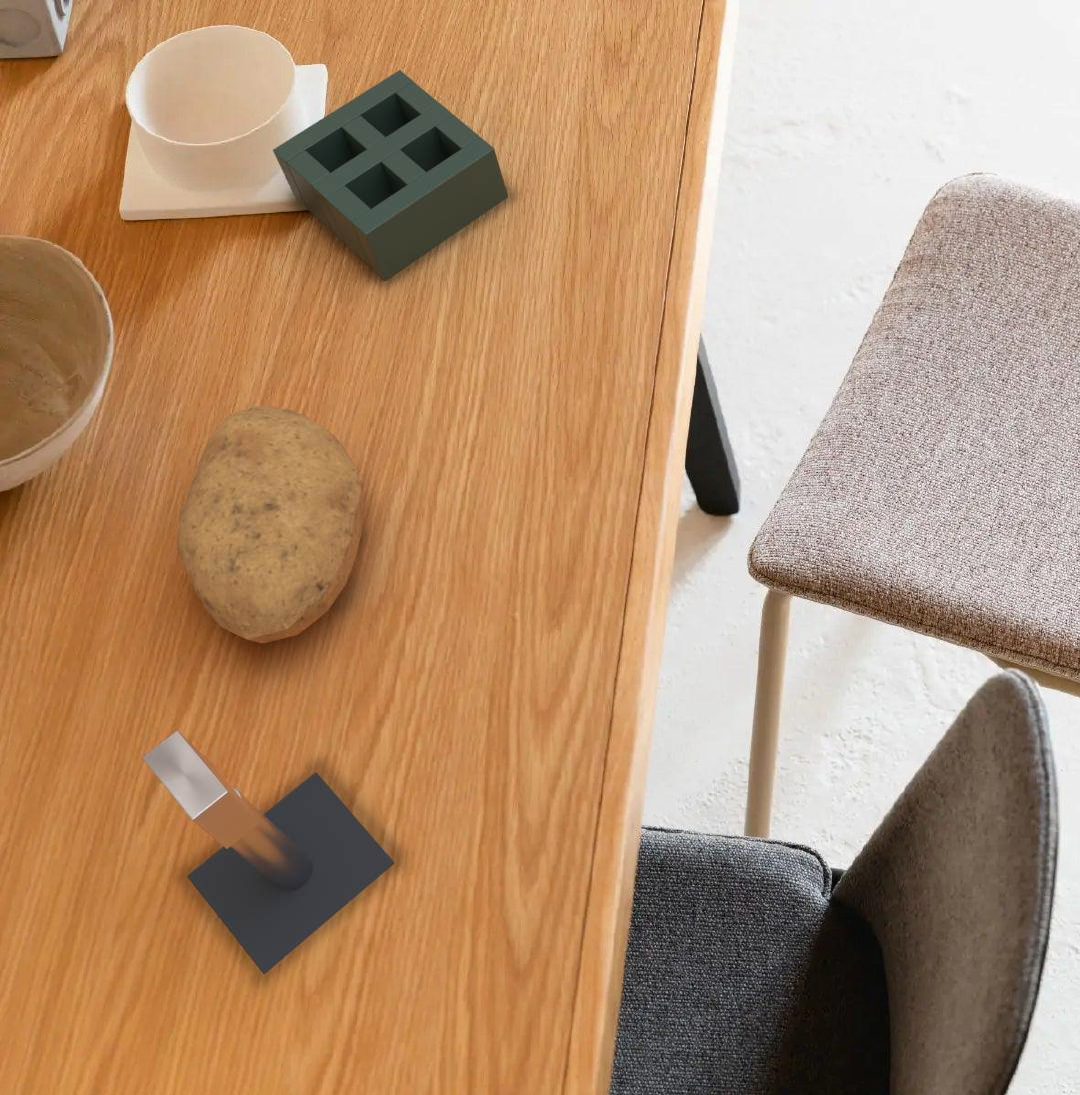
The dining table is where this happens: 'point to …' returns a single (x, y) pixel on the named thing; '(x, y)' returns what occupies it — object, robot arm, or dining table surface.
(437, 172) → the rack
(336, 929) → the dining table surface
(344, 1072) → the dining table surface
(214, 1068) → the dining table surface
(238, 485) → the potato
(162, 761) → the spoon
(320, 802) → the mat
